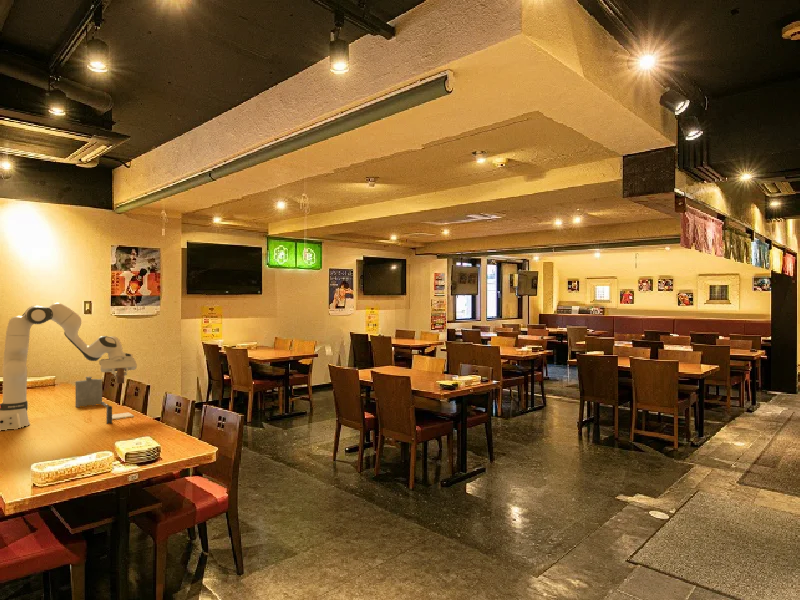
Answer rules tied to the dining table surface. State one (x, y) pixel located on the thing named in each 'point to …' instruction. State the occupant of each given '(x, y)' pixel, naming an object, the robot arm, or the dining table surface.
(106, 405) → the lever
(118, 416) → the plate
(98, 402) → the hip flask
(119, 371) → the walnut peg
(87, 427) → the dining table surface
